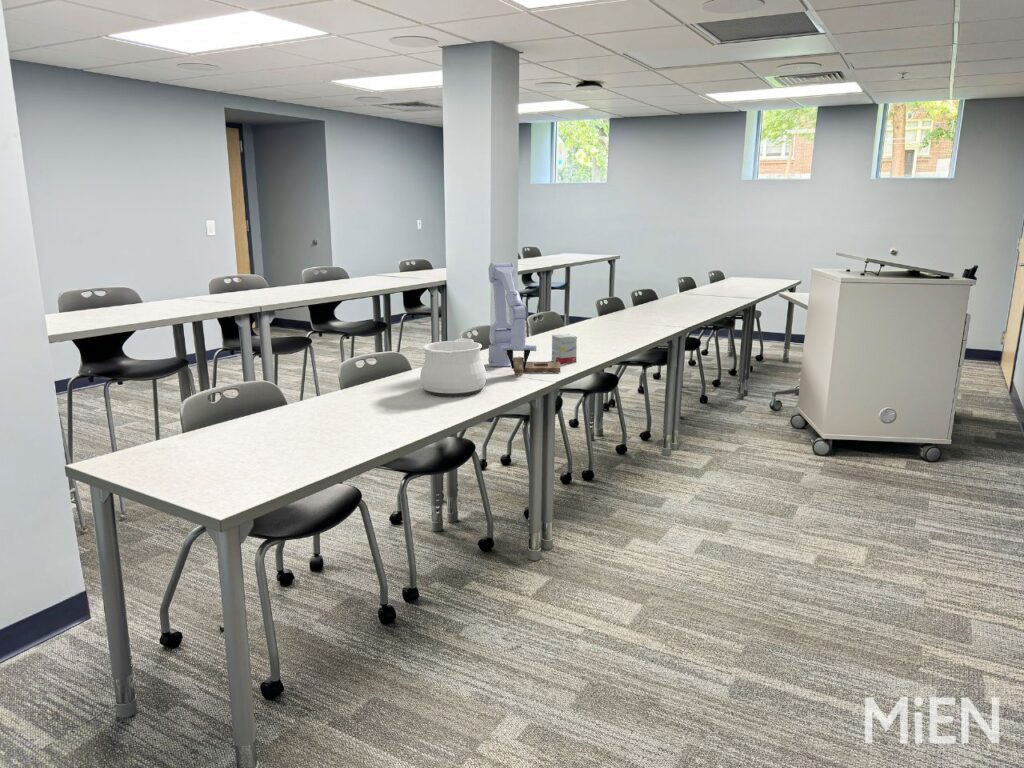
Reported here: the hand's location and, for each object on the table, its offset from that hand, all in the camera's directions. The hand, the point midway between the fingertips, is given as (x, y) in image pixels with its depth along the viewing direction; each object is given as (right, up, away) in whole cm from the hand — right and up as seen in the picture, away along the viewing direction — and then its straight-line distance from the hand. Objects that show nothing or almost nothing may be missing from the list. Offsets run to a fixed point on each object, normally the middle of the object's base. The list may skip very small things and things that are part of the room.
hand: (518, 368), depth 291 cm
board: (+9, 0, +10) cm, 14 cm away
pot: (-24, -9, -24) cm, 36 cm away
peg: (0, -3, +1) cm, 3 cm away
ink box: (+20, +3, +26) cm, 33 cm away
